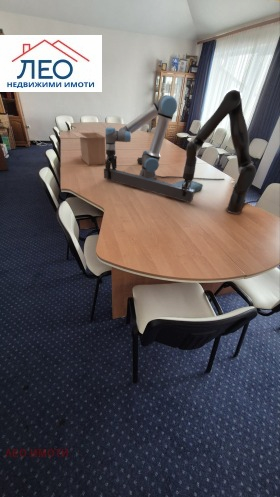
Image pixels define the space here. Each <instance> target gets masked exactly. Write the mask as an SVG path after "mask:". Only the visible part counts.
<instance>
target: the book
mask: <svg viewBox="0 0 280 497" xmlns="http://www.w3.org/2000/svg"><path fill="white" fill-rule="evenodd" d="M184 181H185V179H182V180H179V181H177V182H176V181H175V182H173V183H172V184H174V185H177V186H181V187H182V184H184ZM203 187H204V184H203V183H201V182H198V181H195V180H192V182H191V186H190V188H189V189H193V190H195V191H194V193H196V192H198V191H201V190H203Z"/></svg>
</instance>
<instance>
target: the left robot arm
mask: <svg viewBox="0 0 280 497" xmlns="http://www.w3.org/2000/svg"><path fill="white" fill-rule="evenodd" d="M177 109H178V101H177V99H176V98H175V97H174V96H172V95H168V94H166V95H163V96H161V97H160V98H159V99H158V100H156V101H155V102H154V103H153V104H152V106H151V107H149V108H148V109H147V110H145V111H144V112H143V113H141V114H140V115H138V116H137V117H135V118H134V119H132V120H131V121H130V122H129V123H127V124H126V125H124V126H123V127H121V128H120V129H119V130H116V127H112V126H108V127H107V126H106V128H105V133H106V134H105V135H106V138H105V155H106V159H105V164H104V167H105V168H104V169H105V170H106V171H107V175H108V179H107V180H109V179H111V172H110V168H111V169H115V170H117V158H118V156H117V155H116V143H117V142H118V143H131V140H132V134H133V133H135V132H136V131H138V130H139V129H141V128H142V127H143V126H145V125H146V124H148V123H149V122H150V121H152V120H153V119H155V118H156V117H157V122H156V125H155V129H154V132H153V137H152V139H151V142H150V146H149V150H143V151H142V155H143V159H142V164H141V169H140V170H139V175H138V176H142V177H146V178H150V179H154V180H156V178H161V179H166V178H174V176H161V175H157V174H156V171H157V170H158V169H159V166H160V159H161V155H160V152H161V150H162V146H163V143H164V140H165V136H166V133H167V131H168V130H167V129H168V127H169V124H170V122H171V121H173V117H174V115H175V113H176V112H177ZM175 178H177V179H178V178H180V179H183V176H175ZM194 179H195V180H206V177H205V178H204V177H203V178H202V177H194V178H193V180H194ZM208 180H209V181H210V180H213V181H225V178H208Z"/></svg>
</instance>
